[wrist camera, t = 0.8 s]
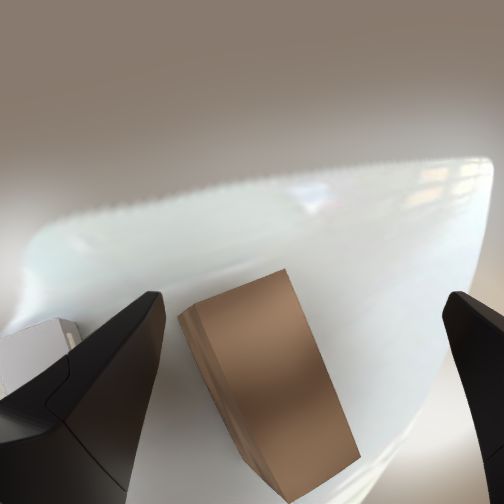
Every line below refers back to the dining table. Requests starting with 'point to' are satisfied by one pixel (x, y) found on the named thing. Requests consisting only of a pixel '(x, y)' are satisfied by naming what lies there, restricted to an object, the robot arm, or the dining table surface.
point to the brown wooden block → (271, 384)
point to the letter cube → (35, 351)
